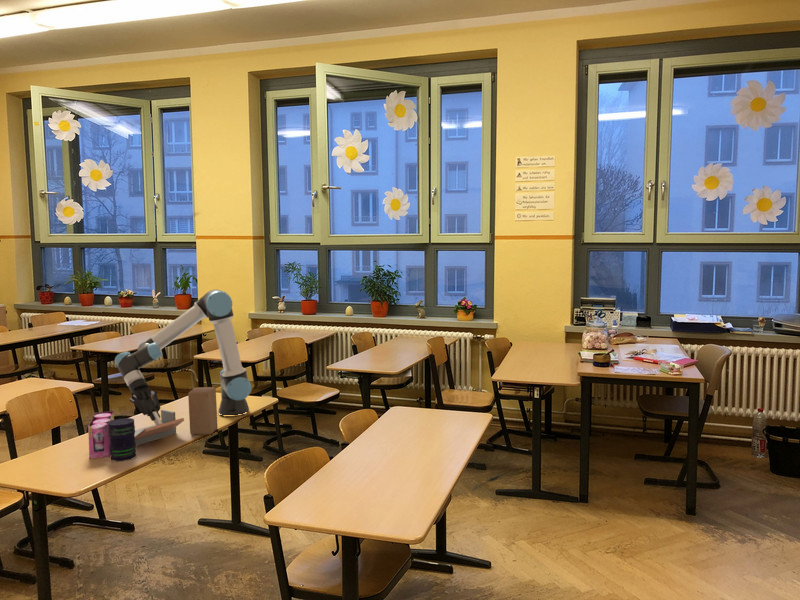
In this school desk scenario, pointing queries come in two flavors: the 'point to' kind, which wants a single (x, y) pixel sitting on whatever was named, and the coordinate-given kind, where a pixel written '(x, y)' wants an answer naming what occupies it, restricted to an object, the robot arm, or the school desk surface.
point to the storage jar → (122, 439)
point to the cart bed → (165, 417)
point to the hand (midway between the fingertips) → (159, 425)
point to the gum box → (100, 434)
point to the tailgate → (159, 428)
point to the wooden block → (202, 410)
